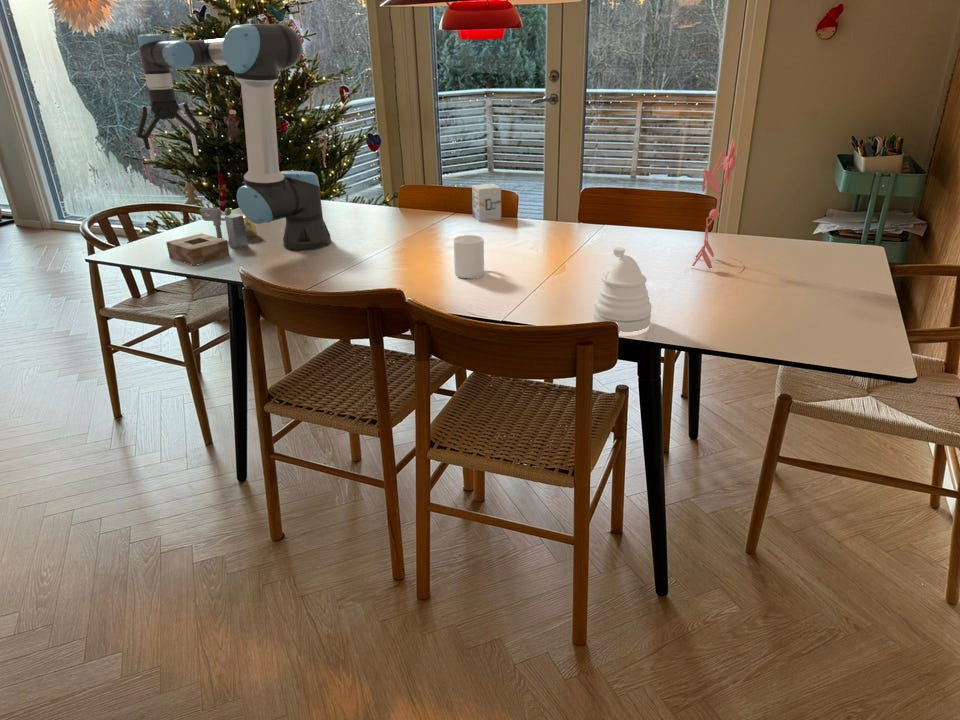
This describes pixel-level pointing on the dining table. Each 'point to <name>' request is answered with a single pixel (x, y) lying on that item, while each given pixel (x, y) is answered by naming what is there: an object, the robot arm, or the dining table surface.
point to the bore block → (198, 249)
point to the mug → (469, 256)
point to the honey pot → (624, 295)
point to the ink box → (486, 202)
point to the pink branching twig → (712, 182)
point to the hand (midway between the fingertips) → (175, 157)
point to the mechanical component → (214, 217)
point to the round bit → (249, 228)
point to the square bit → (236, 231)
